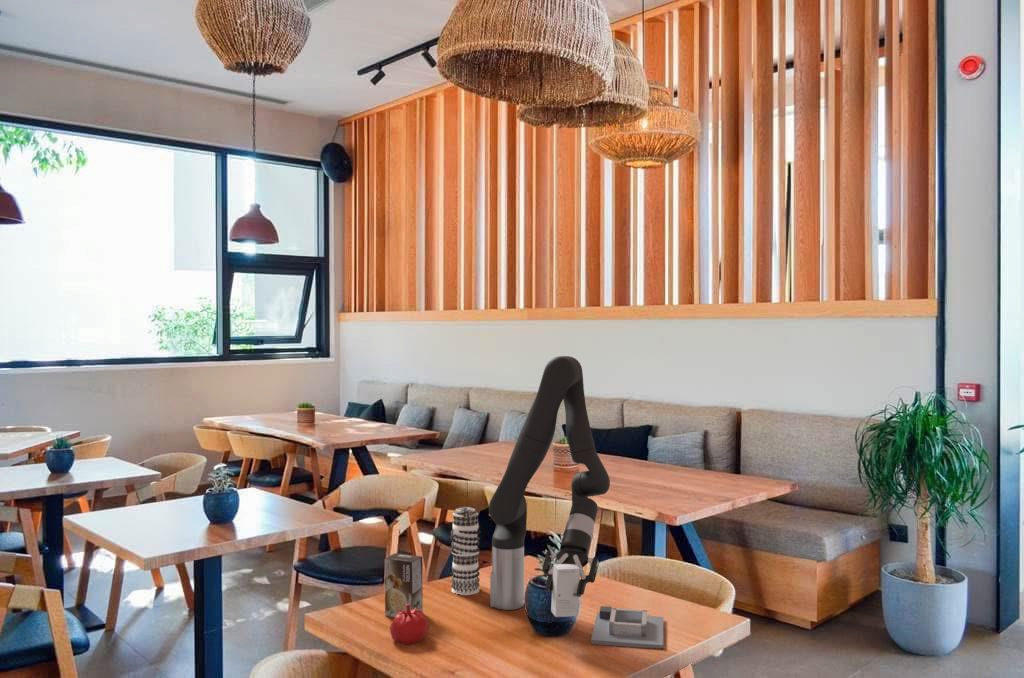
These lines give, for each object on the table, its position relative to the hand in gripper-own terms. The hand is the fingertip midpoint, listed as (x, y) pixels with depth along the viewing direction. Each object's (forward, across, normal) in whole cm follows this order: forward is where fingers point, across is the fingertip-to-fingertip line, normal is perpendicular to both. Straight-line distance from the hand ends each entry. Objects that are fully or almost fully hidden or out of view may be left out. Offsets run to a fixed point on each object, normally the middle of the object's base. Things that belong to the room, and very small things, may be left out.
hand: (563, 592), depth 204 cm
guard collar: (-2, +14, +20) cm, 25 cm away
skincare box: (+3, 0, +5) cm, 6 cm away
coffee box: (+7, -48, +15) cm, 51 cm away
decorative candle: (-11, -40, +33) cm, 53 cm away
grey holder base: (-2, +14, +20) cm, 25 cm away
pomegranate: (+17, -38, +4) cm, 42 cm away
